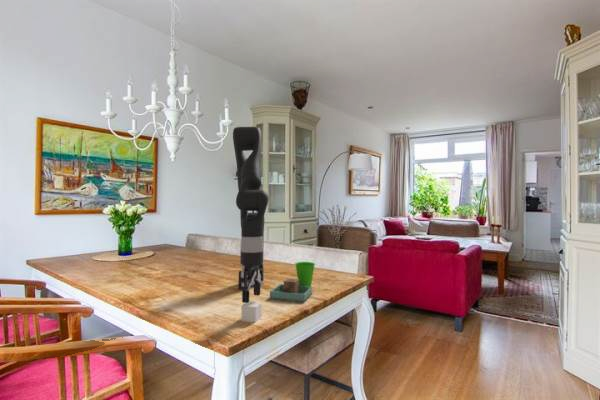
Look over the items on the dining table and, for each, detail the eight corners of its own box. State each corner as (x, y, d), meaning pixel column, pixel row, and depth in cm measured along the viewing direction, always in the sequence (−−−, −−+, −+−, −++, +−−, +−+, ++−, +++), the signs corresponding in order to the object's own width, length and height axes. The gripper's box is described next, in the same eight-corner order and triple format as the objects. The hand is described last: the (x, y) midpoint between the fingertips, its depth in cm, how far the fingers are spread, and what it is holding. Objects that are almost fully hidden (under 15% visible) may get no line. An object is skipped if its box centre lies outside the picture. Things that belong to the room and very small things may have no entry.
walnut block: (283, 296, 130) (283, 281, 130) (287, 292, 135) (287, 278, 135) (295, 297, 128) (295, 282, 128) (298, 293, 133) (299, 279, 133)
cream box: (241, 320, 105) (241, 305, 105) (248, 315, 110) (248, 301, 110) (255, 322, 104) (255, 307, 104) (261, 317, 109) (261, 302, 109)
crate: (269, 298, 128) (269, 291, 128) (279, 291, 139) (279, 284, 139) (304, 302, 124) (304, 294, 124) (312, 294, 135) (312, 286, 135)
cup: (297, 292, 138) (297, 266, 138) (292, 286, 147) (292, 262, 146) (317, 290, 140) (317, 265, 140) (311, 285, 149) (311, 261, 149)
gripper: (253, 253, 99) (252, 306, 99) (270, 247, 113) (270, 293, 112) (231, 252, 101) (230, 304, 101) (250, 246, 115) (250, 292, 115)
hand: (251, 298), depth 107 cm, fingers open, 8 cm apart
